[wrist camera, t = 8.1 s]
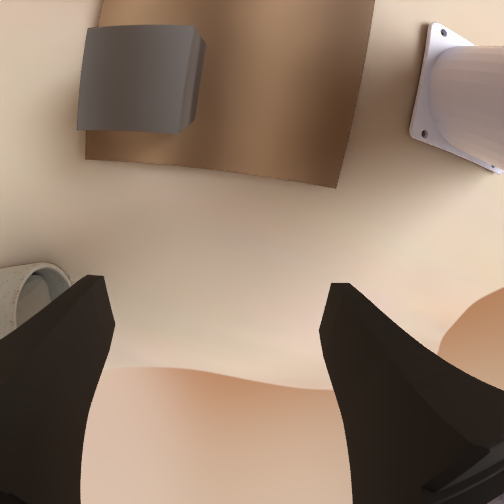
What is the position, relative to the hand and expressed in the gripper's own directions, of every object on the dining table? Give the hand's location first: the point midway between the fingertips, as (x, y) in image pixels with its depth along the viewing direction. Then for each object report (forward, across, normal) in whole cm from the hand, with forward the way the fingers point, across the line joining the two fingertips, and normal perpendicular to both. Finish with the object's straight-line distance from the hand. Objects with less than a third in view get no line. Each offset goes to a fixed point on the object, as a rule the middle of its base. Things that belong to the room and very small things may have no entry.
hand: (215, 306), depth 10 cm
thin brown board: (+9, 0, -13) cm, 16 cm away
